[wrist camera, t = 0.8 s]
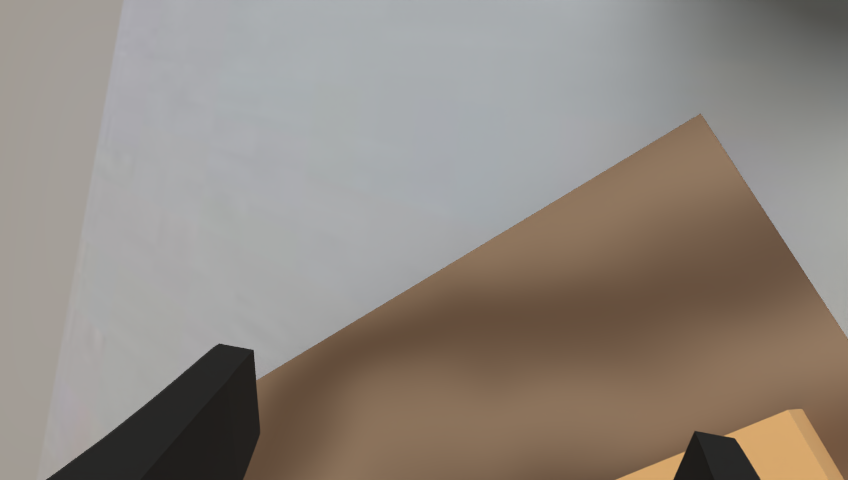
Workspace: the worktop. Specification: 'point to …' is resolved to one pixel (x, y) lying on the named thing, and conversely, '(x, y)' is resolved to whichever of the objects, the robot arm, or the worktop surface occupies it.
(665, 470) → the peach wooden cube
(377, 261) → the worktop surface
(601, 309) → the walnut board
